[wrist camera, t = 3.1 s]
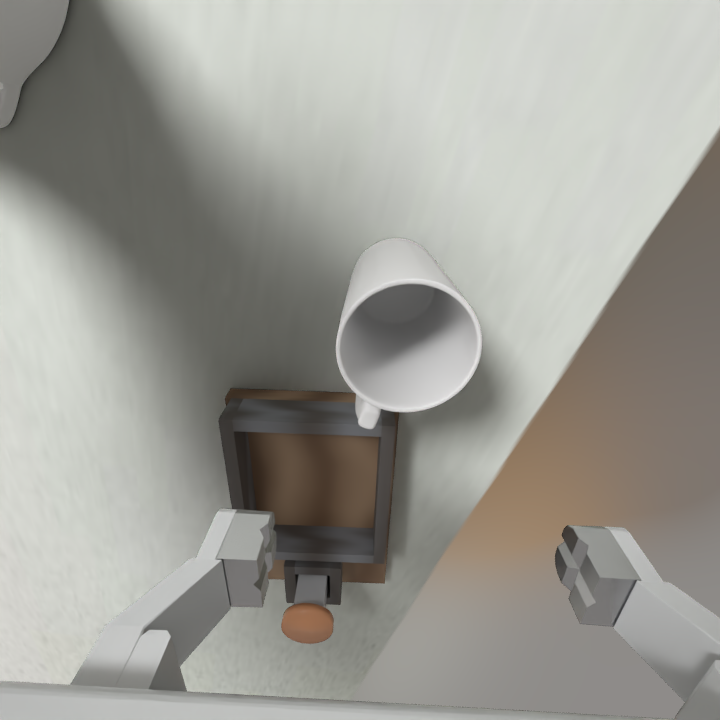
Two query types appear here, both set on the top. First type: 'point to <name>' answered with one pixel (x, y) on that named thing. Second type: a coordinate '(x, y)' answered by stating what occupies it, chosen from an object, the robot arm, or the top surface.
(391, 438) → the board
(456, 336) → the mug
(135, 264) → the top surface
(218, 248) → the top surface
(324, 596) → the click button
